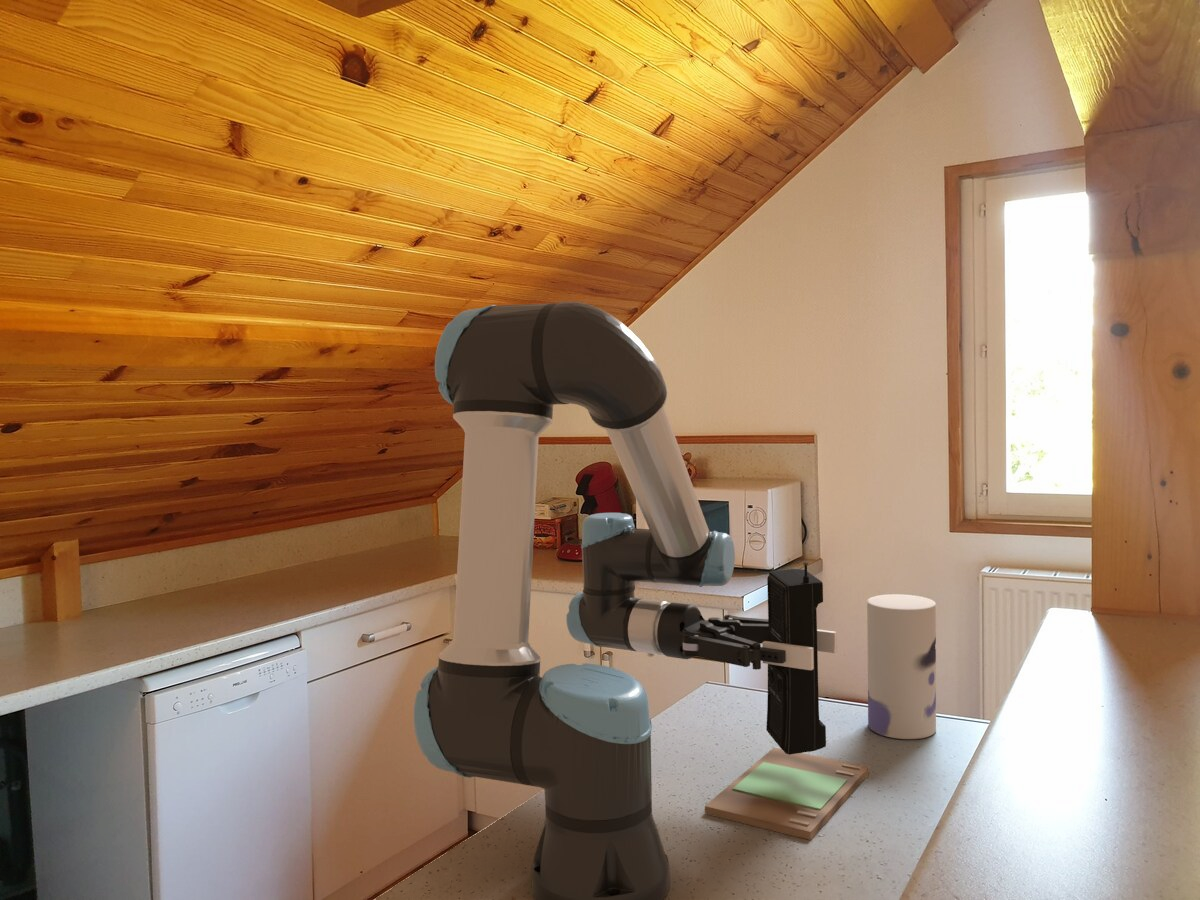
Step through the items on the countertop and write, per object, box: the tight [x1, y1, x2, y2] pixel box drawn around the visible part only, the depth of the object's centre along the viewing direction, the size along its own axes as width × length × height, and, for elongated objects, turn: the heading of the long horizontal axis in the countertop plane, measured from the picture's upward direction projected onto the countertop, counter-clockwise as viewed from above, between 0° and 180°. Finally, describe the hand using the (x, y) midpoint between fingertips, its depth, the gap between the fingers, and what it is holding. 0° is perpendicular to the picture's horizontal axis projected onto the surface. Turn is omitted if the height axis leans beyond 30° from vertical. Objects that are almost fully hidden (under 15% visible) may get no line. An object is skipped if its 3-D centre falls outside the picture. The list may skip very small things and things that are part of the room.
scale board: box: [704, 747, 870, 841], centre depth 128 cm, size 22×14×1 cm, turn 147°
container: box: [866, 593, 937, 740], centre depth 149 cm, size 10×10×20 cm
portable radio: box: [765, 562, 827, 755], centre depth 127 cm, size 8×6×25 cm
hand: (824, 650), depth 124 cm, fingers closed on portable radio, 8 cm apart
